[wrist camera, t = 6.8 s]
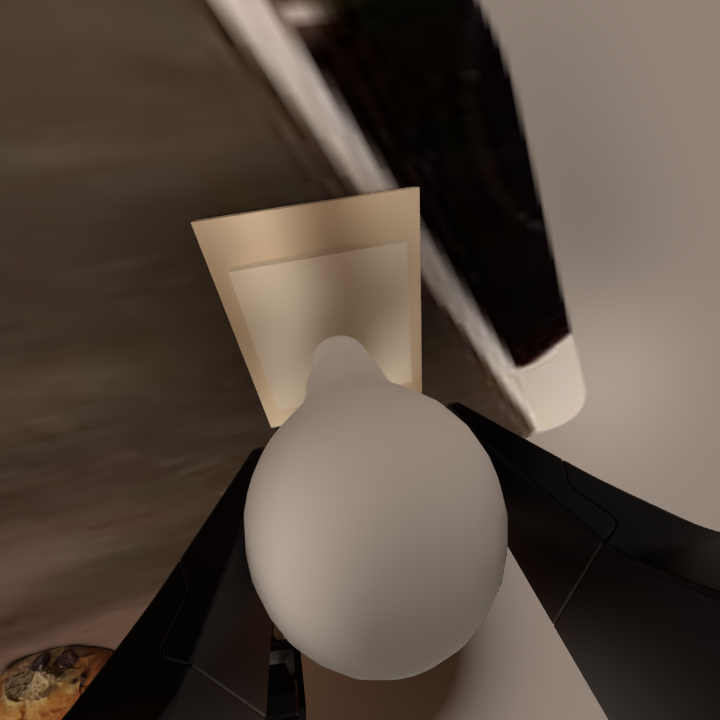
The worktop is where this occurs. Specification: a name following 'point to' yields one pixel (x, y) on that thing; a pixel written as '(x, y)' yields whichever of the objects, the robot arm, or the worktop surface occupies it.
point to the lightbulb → (374, 523)
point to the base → (319, 287)
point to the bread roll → (49, 682)
